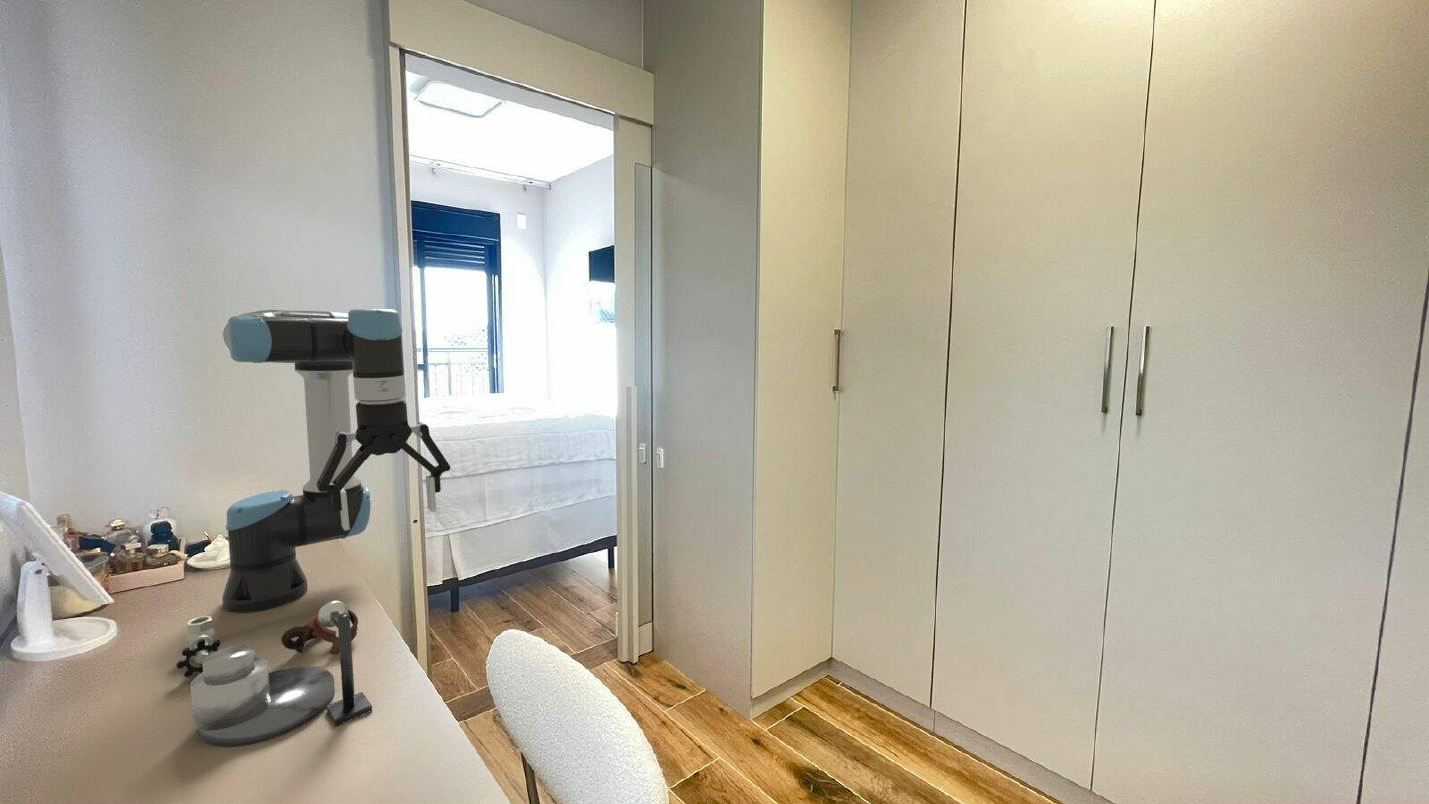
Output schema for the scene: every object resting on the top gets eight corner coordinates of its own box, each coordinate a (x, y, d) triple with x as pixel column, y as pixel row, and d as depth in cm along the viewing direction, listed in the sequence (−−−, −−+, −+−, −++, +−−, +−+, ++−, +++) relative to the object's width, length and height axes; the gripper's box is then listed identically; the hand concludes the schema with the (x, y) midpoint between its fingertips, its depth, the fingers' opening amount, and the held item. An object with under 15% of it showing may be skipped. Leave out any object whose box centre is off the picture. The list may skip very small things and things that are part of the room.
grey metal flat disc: (193, 709, 91) (192, 697, 90) (320, 666, 103) (319, 655, 103) (206, 765, 79) (205, 751, 79) (347, 708, 91) (347, 696, 91)
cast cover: (190, 710, 87) (185, 655, 86) (264, 685, 94) (260, 633, 93) (197, 739, 81) (191, 680, 80) (275, 710, 88) (271, 655, 87)
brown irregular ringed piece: (335, 631, 116) (353, 599, 115) (352, 666, 111) (370, 633, 110) (266, 642, 106) (284, 607, 105) (281, 681, 101) (301, 645, 100)
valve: (178, 655, 106) (178, 685, 97) (175, 622, 105) (174, 648, 96) (224, 643, 110) (228, 670, 102) (222, 610, 110) (225, 635, 101)
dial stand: (319, 698, 94) (313, 606, 92) (354, 685, 97) (348, 596, 96) (335, 726, 87) (328, 627, 85) (372, 711, 91) (366, 615, 89)
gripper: (293, 411, 86) (307, 543, 90) (464, 396, 103) (470, 509, 106) (288, 404, 92) (302, 528, 96) (451, 391, 108) (457, 498, 112)
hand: (390, 518), depth 101 cm, fingers open, 13 cm apart
